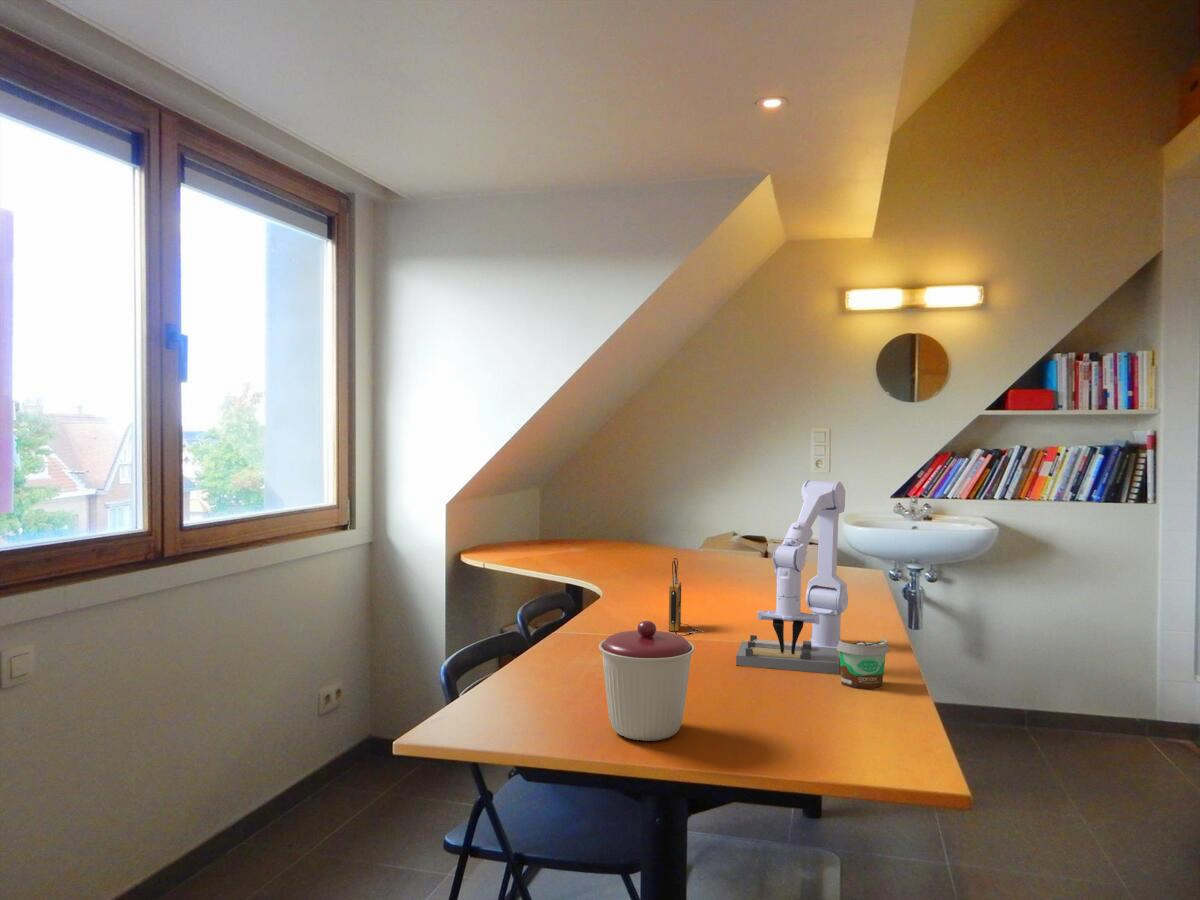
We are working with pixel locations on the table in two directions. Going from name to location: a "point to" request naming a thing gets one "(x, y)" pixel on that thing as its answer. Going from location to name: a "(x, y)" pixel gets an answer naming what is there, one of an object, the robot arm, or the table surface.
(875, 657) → the food container
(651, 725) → the canister
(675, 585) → the riveted handle with loop
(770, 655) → the bar
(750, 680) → the table surface
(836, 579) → the robot arm
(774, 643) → the bar
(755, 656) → the mounting plate
